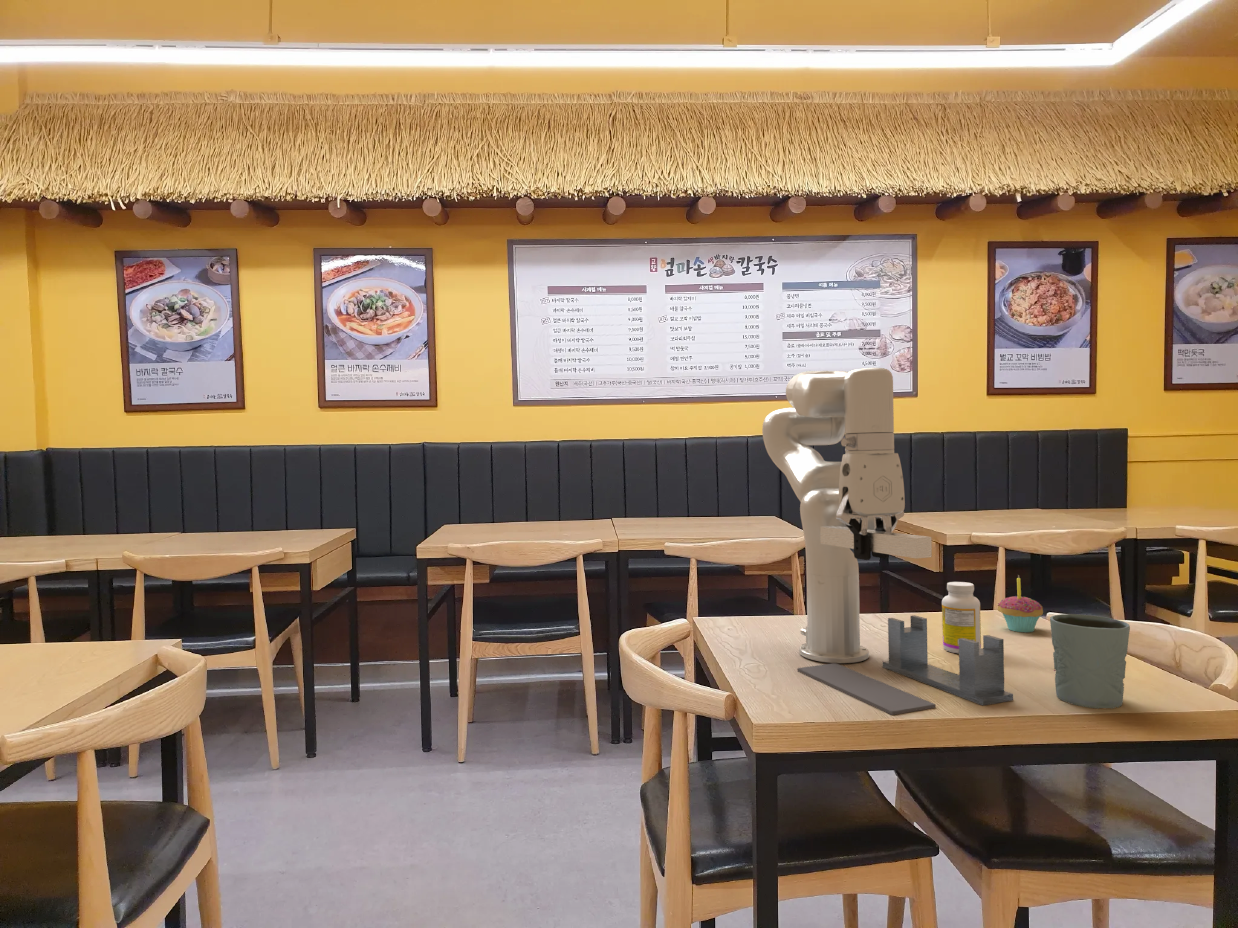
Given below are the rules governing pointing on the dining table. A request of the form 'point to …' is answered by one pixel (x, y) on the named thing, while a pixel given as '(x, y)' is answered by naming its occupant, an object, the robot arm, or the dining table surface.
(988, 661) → the rack
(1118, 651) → the green planter pot
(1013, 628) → the cupcake
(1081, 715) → the dining table surface
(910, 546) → the rail
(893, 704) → the mat
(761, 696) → the dining table surface
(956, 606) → the supplement bottle
